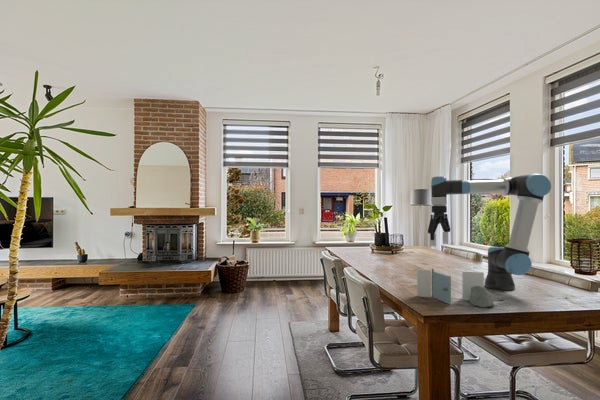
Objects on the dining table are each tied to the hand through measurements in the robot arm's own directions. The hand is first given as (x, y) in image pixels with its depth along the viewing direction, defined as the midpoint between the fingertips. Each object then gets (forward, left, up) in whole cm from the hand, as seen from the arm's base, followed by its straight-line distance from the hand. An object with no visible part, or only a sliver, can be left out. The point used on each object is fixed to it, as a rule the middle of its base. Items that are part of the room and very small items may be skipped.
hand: (439, 245), depth 186 cm
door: (+1, +16, -25) cm, 30 cm away
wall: (-4, +10, -26) cm, 28 cm away
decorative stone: (-17, +18, -26) cm, 36 cm away
